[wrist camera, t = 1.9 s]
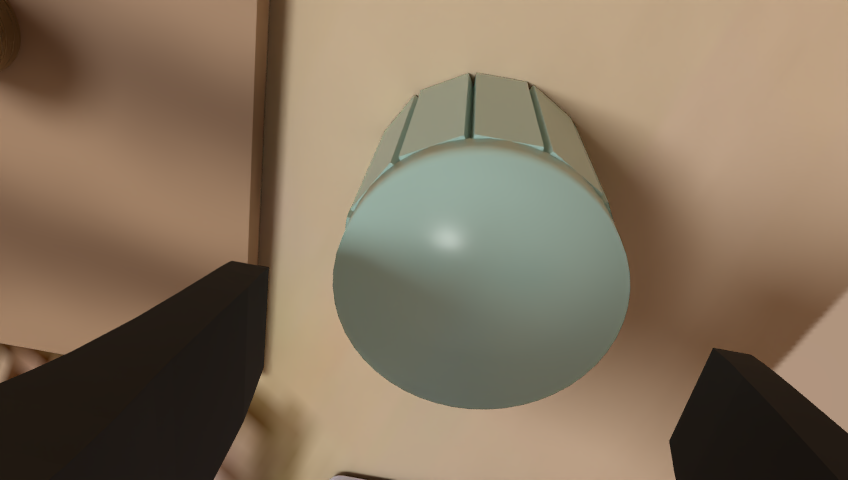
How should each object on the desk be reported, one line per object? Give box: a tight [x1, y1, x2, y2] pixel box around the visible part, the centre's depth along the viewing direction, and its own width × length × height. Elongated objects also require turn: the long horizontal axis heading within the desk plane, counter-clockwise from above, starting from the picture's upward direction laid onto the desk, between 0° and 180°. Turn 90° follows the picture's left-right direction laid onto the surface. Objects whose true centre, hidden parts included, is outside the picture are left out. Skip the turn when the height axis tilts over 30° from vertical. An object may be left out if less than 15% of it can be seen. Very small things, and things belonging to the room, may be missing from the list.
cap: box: [333, 73, 630, 409], centre depth 15 cm, size 6×6×6 cm
